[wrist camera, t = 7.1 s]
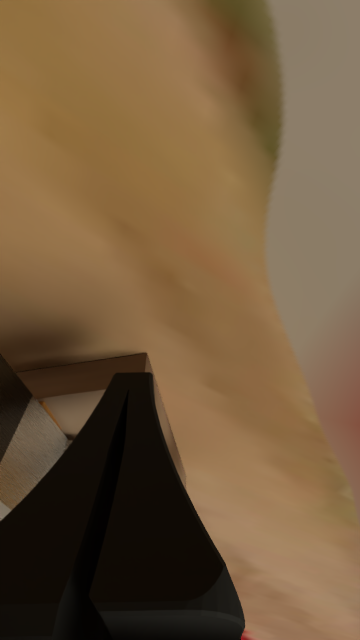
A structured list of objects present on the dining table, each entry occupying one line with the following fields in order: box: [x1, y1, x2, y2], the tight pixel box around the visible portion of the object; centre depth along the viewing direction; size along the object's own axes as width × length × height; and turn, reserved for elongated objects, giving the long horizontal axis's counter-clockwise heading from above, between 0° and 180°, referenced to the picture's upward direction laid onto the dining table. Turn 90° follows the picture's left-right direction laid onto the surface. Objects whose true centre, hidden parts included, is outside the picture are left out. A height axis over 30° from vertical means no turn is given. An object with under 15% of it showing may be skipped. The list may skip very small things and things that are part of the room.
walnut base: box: [16, 353, 186, 490], centre depth 18 cm, size 11×10×2 cm
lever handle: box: [0, 354, 73, 521], centre depth 13 cm, size 13×6×4 cm, turn 16°
